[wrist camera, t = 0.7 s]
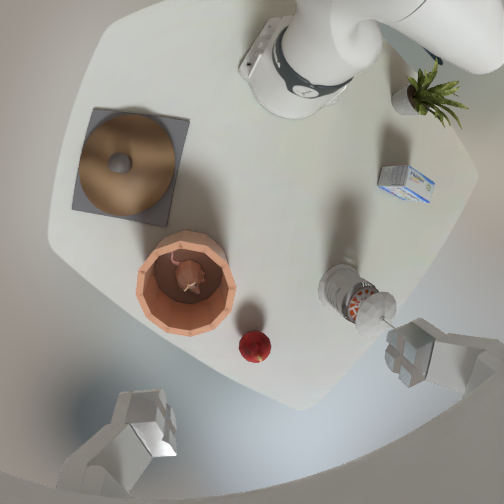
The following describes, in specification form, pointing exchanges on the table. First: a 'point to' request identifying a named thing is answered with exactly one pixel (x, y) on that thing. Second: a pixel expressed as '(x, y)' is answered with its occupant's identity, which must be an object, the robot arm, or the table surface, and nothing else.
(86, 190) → the lid
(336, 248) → the table surface
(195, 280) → the mouse figurine
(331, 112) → the table surface
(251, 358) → the red pomegranate
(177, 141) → the mat
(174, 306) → the flower pot
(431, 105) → the house plant
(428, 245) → the table surface
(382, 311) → the french press
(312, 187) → the table surface
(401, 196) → the medicine box
